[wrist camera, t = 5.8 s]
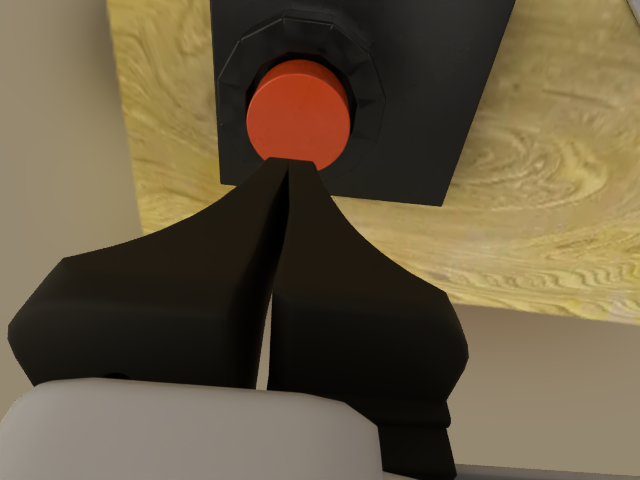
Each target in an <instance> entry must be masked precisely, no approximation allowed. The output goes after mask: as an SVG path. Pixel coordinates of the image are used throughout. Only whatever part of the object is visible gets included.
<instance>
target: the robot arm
mask: <svg viewBox="0 0 640 480" xmlns="http://www.w3.org/2000/svg"><path fill="white" fill-rule="evenodd" d="M627 1H628V3H629V5H630V7H631V9H632V11H633V13H634V15H635V17H636V19H637V21H638V23H639V25H640V0H627ZM272 290H273V291H272ZM271 294H272V314H271V316H272V317H271V336H270V360H269V377H268V384H267V390H256V383H257V376H258V369H259V362H260V354H261V347H262V341H263V333H264V327H265V319H266V315H267V310H268V305H269V302H270V298H271ZM8 341H9V344H10V346H11V348H12V351H13V353H14V355H15V358H16V359H17V361H18V362H19V364H20V366H21V367H22V369H23V370H24V372H25V373H26V375H27V377H28V378H29V380H30V381H31V383H32V384H33V386H34V388H33V389H32V390H30V391H28V392H27V393H26V394H24V395H23V396H21V397H20V398H18V399H17V400H15V402H14V403H13V405H12V406H11V407H10V409H9V410H8V412H7V413H6V415H5V417H4V418H3V419H2V421H1V422H0V480H640V476H628V475H612V474H599V473H584V472H569V471H554V470H539V469H524V468H509V467H495V466H479V465H464V464H455V463H454V459H453V455H452V450H451V446H450V442H449V438H448V434H447V429H446V428H448V427H449V426H450V424H451V417H450V413H449V409H448V406H447V401H446V400H447V399H448V397H449V395H450V393H451V392H452V390H453V388H454V387H455V385H456V383H457V382H458V380H459V378H460V376H461V375H462V373H463V371H464V369H465V366H466V364H467V361H468V358H469V355H468V344H467V341H466V339H465V335H464V333H463V330H462V327H461V324H460V322H459V319H458V317H457V315H456V312H455V311H454V308H453V306H452V304H451V303H450V301H449V298H448V296H447V294H446V292H444V291H443V290H441V289H439V288H437V287H435V286H433V285H432V284H430V283H428V282H426V281H424V280H423V279H421V278H419V277H417V276H415V275H413V274H412V273H410V272H409V271H407V270H406V269H404V268H403V267H401V266H400V265H398V264H397V263H395V262H394V261H392V260H391V259H389V258H388V257H387V256H385V255H384V254H383V253H381V252H380V251H379V250H378V249H377V248H375V247H374V246H373V245H372V244H371V243H370V242H368V241H367V240H366V239H365V238H364V237H363V236H362V235H361V234H360V233H359V232H358V231H357V230H356V229H355V228H354V227H353V226H352V225H351V224H350V223H349V221H348V220H347V219H346V218H345V216H344V215H343V214H342V212H341V211H340V210H339V208H338V207H337V205H336V204H335V202H334V201H333V199H332V198H331V196H330V194H329V193H328V191H327V189H326V187H325V186H324V184H323V182H322V180H321V177H320V175H319V173H318V170H317V167H316V165H315V163H314V162H313V161H306V160H296V159H287V158H278V157H268V158H267V159H266V160H265V161H264V162H263V163H262V164H261V165H260V166H259V167H258V168H257V169H255V170H254V171H253V172H252V173H251V174H250V175H249V176H248V177H247V178H246V179H245V180H243V181H242V182H241V183H240V184H239V185H238V186H237V187H235V188H234V189H233V190H232V191H230V192H229V193H228V194H226V195H225V196H224V197H222V198H221V199H220V200H218V201H217V202H215V203H213V204H212V205H210V206H209V207H207V208H205V209H203V210H202V211H200V212H198V213H196V214H195V215H193V216H191V217H189V218H186V219H184V220H182V221H180V222H178V223H175V224H173V225H171V226H169V227H167V228H164V229H162V230H160V231H157V232H154V233H152V234H149V235H146V236H143V237H140V238H137V239H134V240H131V241H128V242H125V243H122V244H119V245H115V246H111V247H107V248H103V249H99V250H95V251H92V252H87V253H83V254H79V255H75V256H70V257H66V258H63V259H62V260H61V261H60V262H59V263H58V264H57V265H56V267H55V268H54V269H53V270H52V271H51V272H50V273H49V274H48V276H47V277H46V278H45V279H44V280H43V282H42V283H41V284H40V285H39V287H38V288H37V289H36V290H35V292H34V293H33V294H32V295H31V297H30V298H29V299H28V300H27V301H26V303H25V304H24V305H23V306H22V308H21V309H20V310H19V311H18V313H17V314H16V315H15V317H14V318H13V319H12V321H11V322H10V324H9V325H8Z"/></svg>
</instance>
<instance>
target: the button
mask: <svg viewBox="0 0 640 480" xmlns="http://www.w3.org/2000/svg"><path fill="white" fill-rule="evenodd" d="M246 122H247V131H248V135H249V138H250V141H251V143H252V145H253V147H254V148H255V150H256V151H257V153H258V154H259V155H260V156H261V157H262V158H263V159H264V160H266V159H267V158H268V157H278V158H287V159H296V160H306V161H313V162H314V163H315V165H316V167H317V170H318V171H319V170H321V169H323V168H325V167H327V166H328V165H330V164H331V163H333V162H334V161H335V160H336V159H337V158H338V157H339V156H340V154H341V153H342V152H343V150H344V148H345V146H346V144H347V141H348V138H349V134H350V115H349V107H348V100H347V95H346V92H345V89H344V87H343V85H342V83H341V82H340V80H339V79H338V78H337V77H336V75H335V74H334V73H333V72H331V71H330V70H329V69H328V68H326V67H325V66H323V65H321V64H319V63H316V62H314V61H310V60H302V59H296V60H289V61H285V62H283V63H280V64H278V65H277V66H275V67H273V68H272V69H271V70H269V71H268V72H267V73H266V74H265V76H264V77H263V78H262V80H261V81H260V83H259V85H258V87H257V89H256V91H255V93H254V96H253V98H252V100H251V102H250V105H249V108H248V112H247V121H246Z"/></svg>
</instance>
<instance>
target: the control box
mask: <svg viewBox="0 0 640 480" xmlns="http://www.w3.org/2000/svg"><path fill="white" fill-rule="evenodd" d="M515 1H516V0H210V13H211V30H212V47H213V65H214V82H215V99H216V116H217V133H218V150H219V168H220V183H221V184H224V185H234V186H238V185H239V184H240V183H241V182H242V181H243V180H245V179H246V178H247V177H248V176H249V175H250V174H251V173H252V172H253V171H254V170H255V169H257V168H258V167H259V166H260V165H261V164H262V163H263V162H264V161H265V160H264V159H263V158H262V157H261V156H260V155H259V154H258V153H257V151H256V150H255V148H254V147H253V145H252V143H251V141H250V138H249V135H248V131H247V122H246V121H247V112H248V108H249V105H250V102H251V100H252V98H253V96H254V93H255V91H256V89H257V87H258V85H259V83H260V81H261V80H262V78H263V77H264V76H265V74H266V73H267V72H268V71H269V70H271V69H272V68H273V67H275V66H277V65H278V64H280V63H283V62H285V61H289V60H296V59H302V60H310V61H314V62H316V63H319V64H321V65H323V66H325V67H326V68H328V69H329V70H330V71H331V72H333V73H334V74H335V75H336V77H337V78H338V79H339V80H340V82H341V83H342V85H343V87H344V89H345V92H346V95H347V100H348V107H349V115H350V134H349V138H348V141H347V144H346V146H345V148H344V150H343V152H342V153H341V154H340V156H339V157H338V158H337V159H336V160H335V161H334V162H333V163H331V164H330V165H328V166H327V167H325V168H323V169H321V170H319V171H318V173H319V175H320V177H321V180H322V182H323V184H324V186H325V187H326V189H327V191H328V193H329V194H330V195H332V196H341V197H351V198H361V199H371V200H381V201H390V202H400V203H410V204H420V205H430V206H439V207H441V206H442V204H443V201H444V198H445V196H446V193H447V190H448V187H449V185H450V182H451V179H452V176H453V173H454V171H455V168H456V165H457V162H458V160H459V157H460V154H461V151H462V148H463V146H464V143H465V140H466V137H467V135H468V132H469V129H470V126H471V123H472V121H473V118H474V115H475V112H476V110H477V107H478V104H479V101H480V98H481V96H482V93H483V90H484V87H485V85H486V82H487V79H488V76H489V73H490V71H491V68H492V65H493V62H494V60H495V57H496V54H497V51H498V48H499V46H500V43H501V40H502V37H503V35H504V32H505V29H506V26H507V23H508V21H509V18H510V15H511V12H512V10H513V7H514V4H515Z"/></svg>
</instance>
